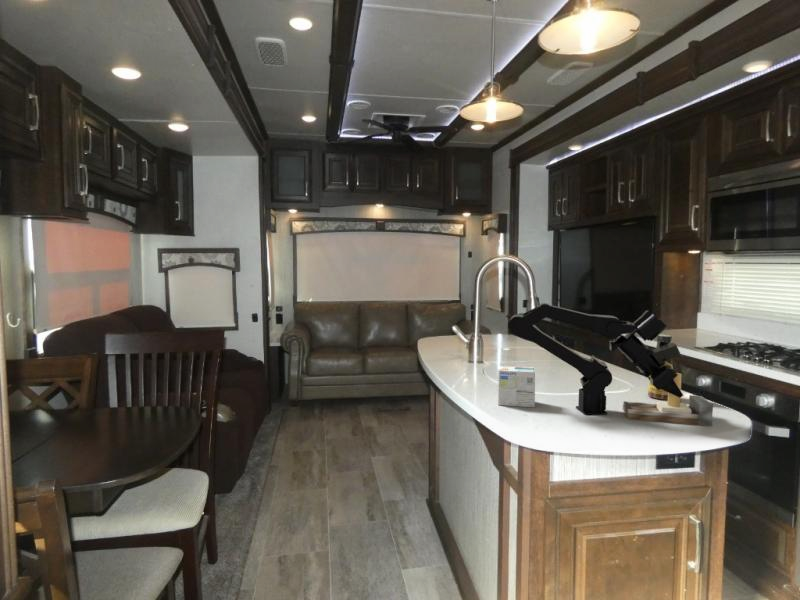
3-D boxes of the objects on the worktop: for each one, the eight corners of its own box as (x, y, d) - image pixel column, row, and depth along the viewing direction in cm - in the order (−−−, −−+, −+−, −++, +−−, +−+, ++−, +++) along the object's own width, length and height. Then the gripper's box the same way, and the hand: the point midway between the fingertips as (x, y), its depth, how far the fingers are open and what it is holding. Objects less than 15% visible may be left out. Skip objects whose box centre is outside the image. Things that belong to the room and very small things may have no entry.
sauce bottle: (647, 398, 152) (650, 335, 150) (648, 393, 157) (650, 332, 156) (671, 401, 149) (674, 337, 147) (671, 396, 154) (674, 334, 153)
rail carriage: (661, 414, 131) (663, 375, 131) (656, 407, 137) (658, 370, 136) (691, 416, 130) (693, 377, 129) (684, 409, 135) (686, 372, 134)
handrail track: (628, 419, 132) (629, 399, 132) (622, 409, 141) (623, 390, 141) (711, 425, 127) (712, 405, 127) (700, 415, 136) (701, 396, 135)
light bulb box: (533, 401, 149) (534, 366, 148) (535, 408, 142) (536, 371, 141) (498, 399, 151) (498, 365, 150) (497, 405, 144) (498, 369, 144)
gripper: (670, 338, 124) (717, 383, 122) (653, 328, 142) (694, 368, 140) (634, 366, 126) (680, 412, 124) (622, 353, 144) (662, 393, 142)
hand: (679, 394), depth 133 cm, fingers open, 3 cm apart
